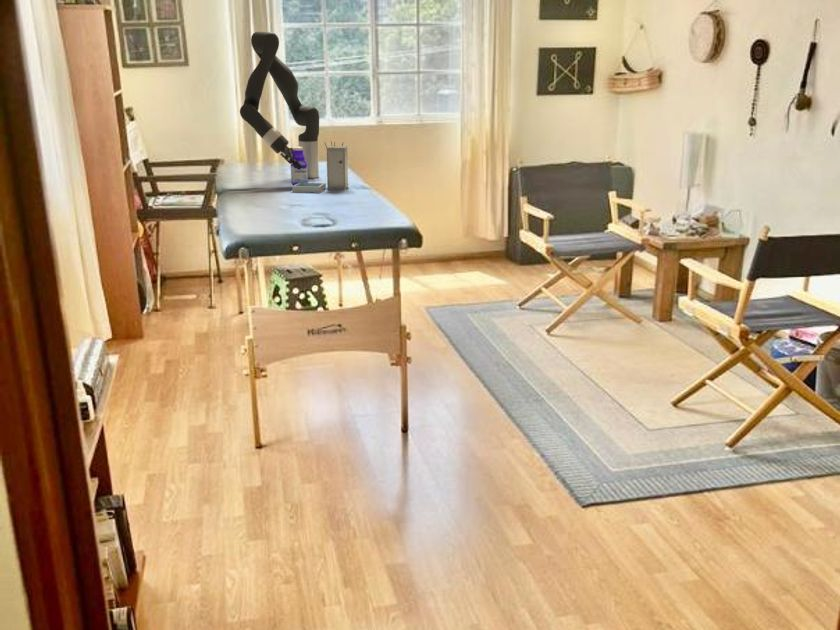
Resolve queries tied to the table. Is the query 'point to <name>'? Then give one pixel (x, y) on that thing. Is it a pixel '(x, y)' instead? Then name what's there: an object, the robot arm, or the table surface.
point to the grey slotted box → (337, 167)
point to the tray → (309, 187)
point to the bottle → (301, 174)
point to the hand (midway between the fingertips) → (302, 167)
